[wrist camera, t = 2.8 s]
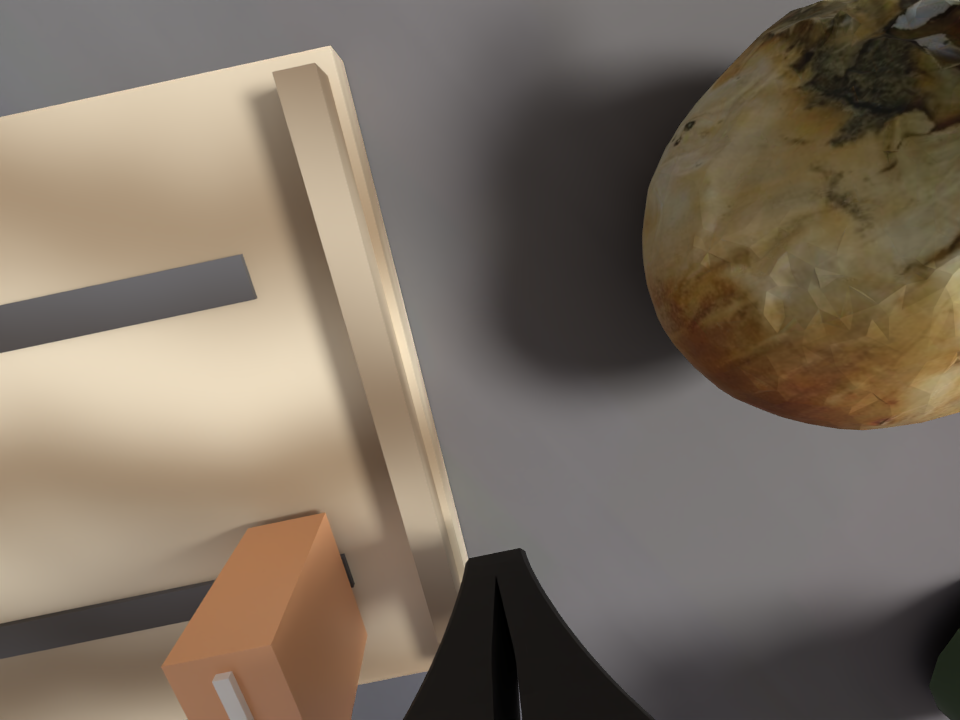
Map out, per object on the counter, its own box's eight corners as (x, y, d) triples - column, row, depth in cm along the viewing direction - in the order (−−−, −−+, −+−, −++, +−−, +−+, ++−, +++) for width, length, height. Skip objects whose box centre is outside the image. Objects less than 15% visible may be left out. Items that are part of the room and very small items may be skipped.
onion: (533, 228, 12) (659, 269, 5) (787, -57, 11) (1550, -647, 3) (727, 413, 14) (1042, 658, 7) (969, 190, 13) (1739, 173, 5)
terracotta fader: (367, 634, 14) (334, 805, 10) (296, 649, 14) (235, 825, 10) (325, 512, 13) (268, 652, 9) (247, 528, 13) (156, 674, 9)
